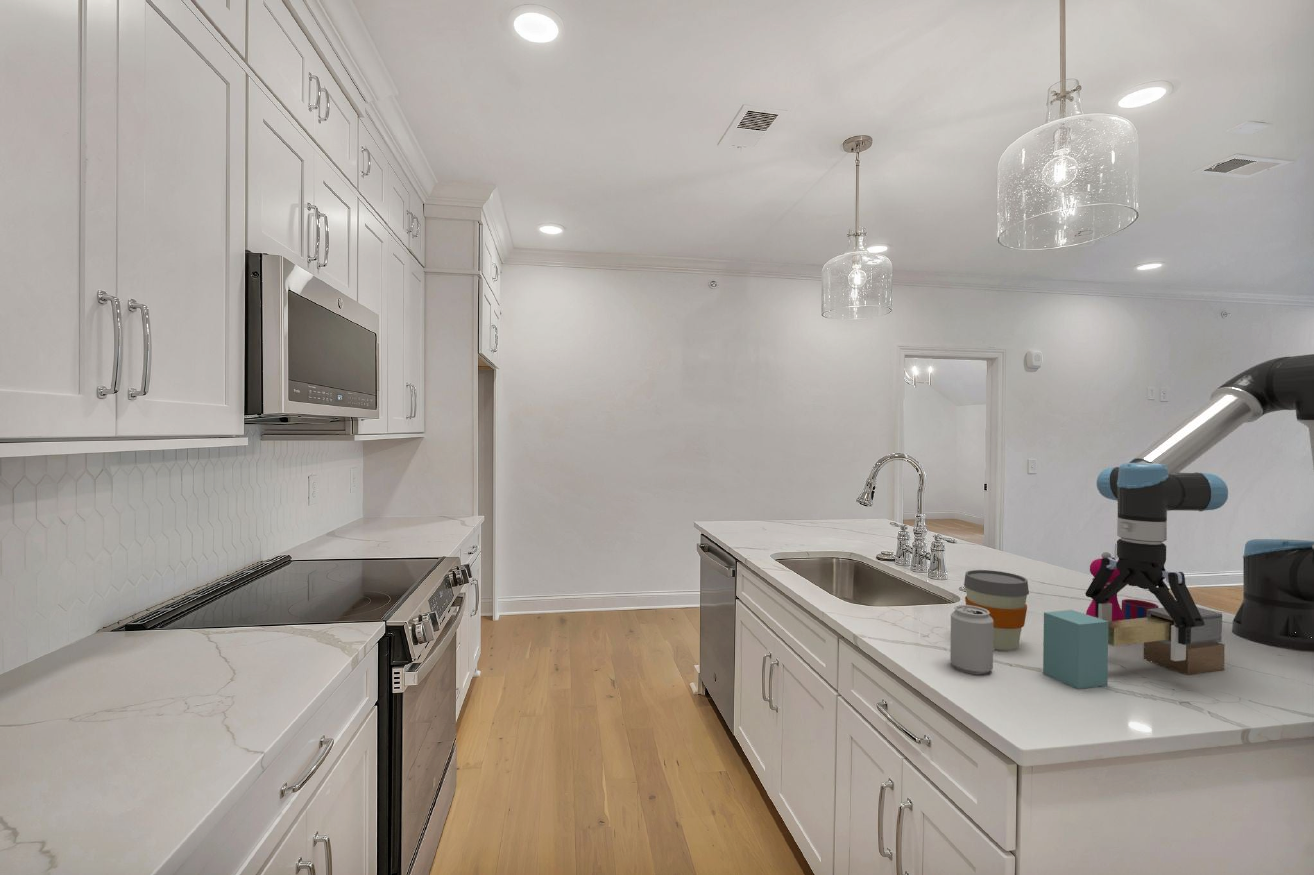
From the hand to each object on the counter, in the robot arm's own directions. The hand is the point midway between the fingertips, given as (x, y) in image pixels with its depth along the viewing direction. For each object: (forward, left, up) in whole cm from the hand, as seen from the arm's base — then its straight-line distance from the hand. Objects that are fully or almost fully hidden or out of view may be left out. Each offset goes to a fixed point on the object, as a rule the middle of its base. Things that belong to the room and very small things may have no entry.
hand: (1139, 646), depth 113 cm
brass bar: (-5, 0, +2) cm, 5 cm away
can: (+32, -9, -5) cm, 34 cm away
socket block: (+16, 0, -5) cm, 17 cm away
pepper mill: (-11, -15, -5) cm, 19 cm away
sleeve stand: (-12, 0, -5) cm, 13 cm away
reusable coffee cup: (+16, -19, -5) cm, 25 cm away
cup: (-24, -15, -5) cm, 29 cm away
